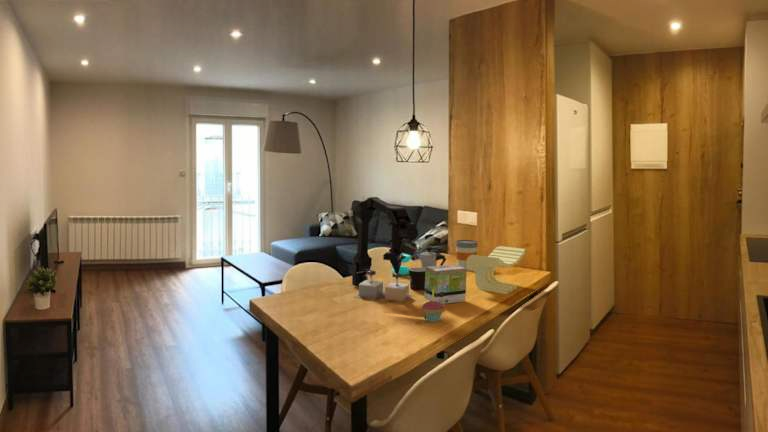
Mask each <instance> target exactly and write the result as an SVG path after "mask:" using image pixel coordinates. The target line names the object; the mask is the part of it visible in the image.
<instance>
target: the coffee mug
mask: <svg viewBox="0 0 768 432" xmlns="http://www.w3.org/2000/svg"><path fill="white" fill-rule="evenodd" d="M408 268H409V274H408V278H409V286H410V287H409V289H410V290H411V291H425V271H426V269H425V268H423V267H417V266H416V267H408Z"/></svg>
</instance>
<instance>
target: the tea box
mask: <svg viewBox="0 0 768 432" xmlns="http://www.w3.org/2000/svg"><path fill="white" fill-rule="evenodd" d="M467 272H468V270H467V269H466V268H463V267H460V266H458V264H457V265H456V264H455V263H454V264H446V265H445V264H443V265H442V266H440V265H436V266H431V267H426V271H425V289H424V297H423V298H424V299H425V300H427V301H432V290H434V301H437V302H440V303H441V304H443V305H444V304H455V303H463V302H464V301H466V294H467V292H466V291H467Z"/></svg>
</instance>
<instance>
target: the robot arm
mask: <svg viewBox="0 0 768 432" xmlns="http://www.w3.org/2000/svg"><path fill="white" fill-rule="evenodd" d="M376 211H379V212H381V213H383V214H385V216H386V218H387V219H388V220H389V223H387V226H389V227H390V239H389V240H388V242H389V243H390V248H389V249H388V251H387V252H385V253H383V256H382V260H383V261H389V262H390V264H391V266H392V269H393V268H394V271H395V273H399V270H400V266H402V263H401V262H402V260H403V259H404V258H405V257H406V256H403V254H407V255H409V256H410V257H414V256H415V255H417V252H418V250H419V248H418V244H417V243H416V242H412V243H407V240H409V241H414V240H416V239H417V238H418V236H419V231H418V228H417V227H416V226H415V223H412V220H411V217H410V215H409V214H408V211H407V209H406V208H405V207H403V206H397V205H392V204H390V203H388V202H387V201H384V200H382V199H380V198H379V197H377V196H372V197H371V196H370V197H367V199H365V200H363V201H362V202H360V203H358V204H356V206H355V207H354V212H355V214H354V215H355V218H356V221H357V222H358V227H357V230H358V231H357V248H356V250H357V251H356V253H355V255H354V257H353V259H352V264H351V266H350V267H349V268H348V273H349V274H350V275H352V276H351V279H352V281H351V284H352V285H354V286H358V287H359V284H360V283H362V282H363V281H365V280H369V277H368V275H367V271H368V270H371V268H372V265H373V264H372V260H373V258H372V257H371V255H369V233H370V223H371V221H372V219H373V218H374V212H376Z"/></svg>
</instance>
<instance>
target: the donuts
mask: <svg viewBox="0 0 768 432" xmlns="http://www.w3.org/2000/svg"><path fill="white" fill-rule="evenodd" d="M402 254H403V256H406V257H405V258H404V259H403V260H402V262H401V264H405V263H409V262H410V261H411V259H412V256H410V255H409V254H407V253H402ZM409 268H410V267H408V266H404V265H401V266H400V270H399V273H402V276H407V275H408V276H409ZM391 272H392V273H395V271H394V268H393V267H392V269H391ZM392 273H391V274H392Z"/></svg>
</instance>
